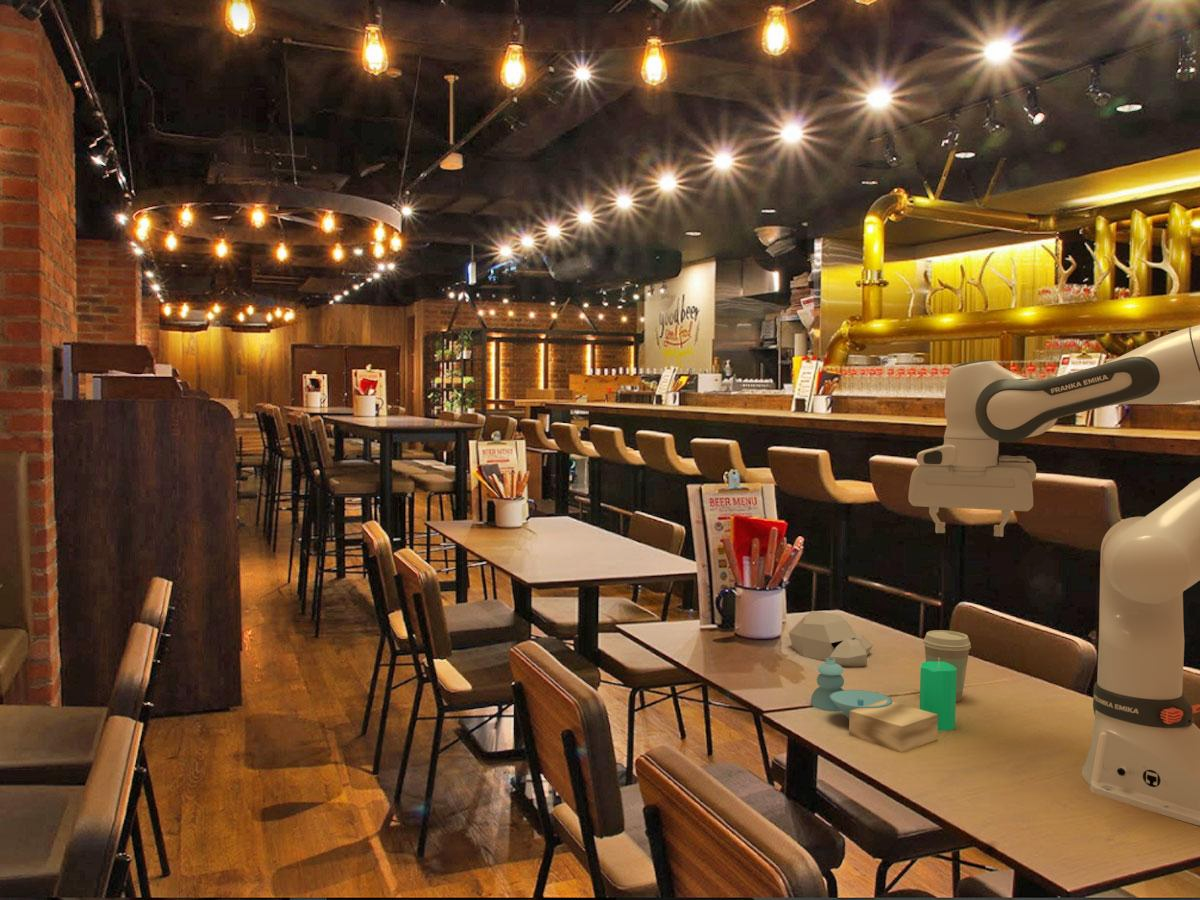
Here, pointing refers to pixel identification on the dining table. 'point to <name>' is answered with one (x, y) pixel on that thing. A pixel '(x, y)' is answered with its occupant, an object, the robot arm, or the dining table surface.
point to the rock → (830, 639)
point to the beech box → (894, 725)
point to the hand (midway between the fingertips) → (969, 534)
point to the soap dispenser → (841, 692)
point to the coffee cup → (949, 653)
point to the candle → (939, 692)
